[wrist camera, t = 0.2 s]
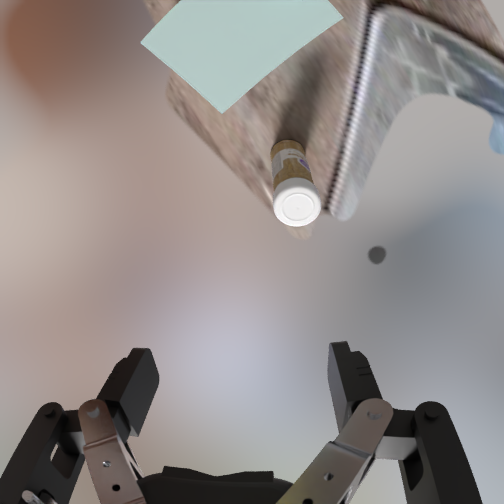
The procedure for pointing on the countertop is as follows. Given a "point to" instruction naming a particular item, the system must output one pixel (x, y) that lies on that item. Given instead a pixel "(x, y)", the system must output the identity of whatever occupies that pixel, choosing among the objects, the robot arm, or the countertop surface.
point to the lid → (235, 41)
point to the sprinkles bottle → (293, 185)
